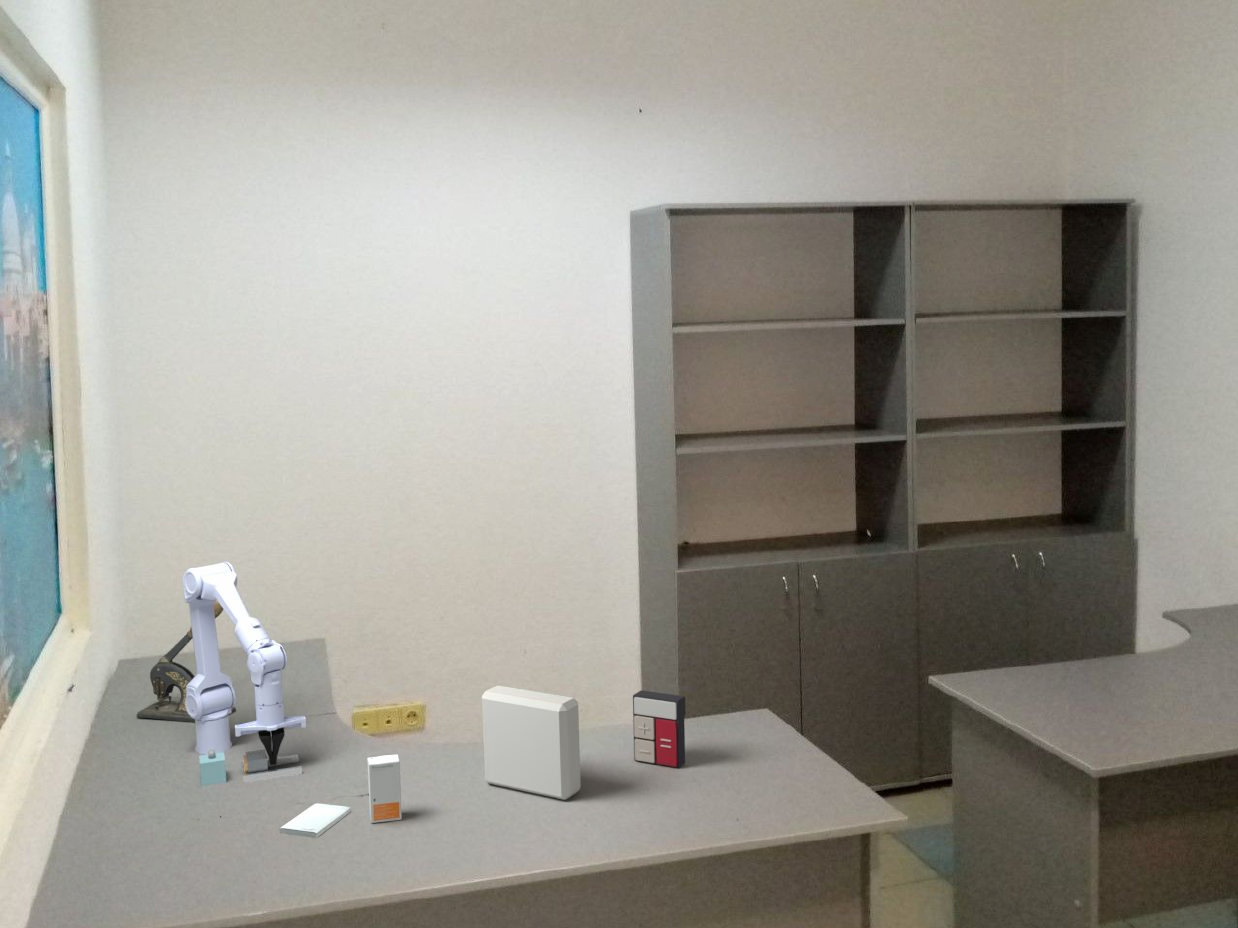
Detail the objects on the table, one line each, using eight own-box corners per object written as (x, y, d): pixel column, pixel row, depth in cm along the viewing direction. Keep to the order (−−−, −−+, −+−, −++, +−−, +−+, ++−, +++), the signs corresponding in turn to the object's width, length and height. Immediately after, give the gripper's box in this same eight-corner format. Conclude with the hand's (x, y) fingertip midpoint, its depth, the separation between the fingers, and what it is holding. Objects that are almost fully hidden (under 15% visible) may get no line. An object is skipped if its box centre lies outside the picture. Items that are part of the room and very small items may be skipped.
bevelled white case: (587, 789, 243) (584, 695, 240) (565, 803, 236) (562, 706, 234) (504, 772, 253) (500, 681, 251) (481, 785, 247) (477, 691, 244)
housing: (200, 778, 251) (198, 748, 251) (225, 774, 253) (223, 745, 252) (201, 786, 247) (199, 756, 246) (226, 782, 248) (224, 752, 248)
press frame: (192, 778, 254) (191, 766, 254) (297, 762, 262) (296, 751, 261) (193, 798, 243) (192, 786, 243) (303, 781, 251) (302, 769, 250)
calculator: (632, 762, 257) (630, 695, 256) (641, 755, 261) (639, 689, 259) (678, 769, 252) (676, 701, 251) (686, 763, 256) (685, 695, 254)
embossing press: (162, 705, 305) (154, 591, 302) (242, 711, 299) (235, 595, 295) (134, 719, 295) (125, 601, 291) (216, 725, 288) (208, 605, 285)
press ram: (243, 770, 255) (242, 752, 254) (266, 766, 256) (264, 749, 256) (245, 779, 249) (244, 761, 249) (268, 776, 251) (267, 758, 250)
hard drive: (316, 832, 223) (350, 806, 234) (278, 827, 225) (314, 801, 237) (316, 840, 223) (351, 814, 235) (279, 835, 225) (314, 809, 237)
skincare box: (371, 824, 228) (368, 764, 227) (369, 815, 232) (366, 756, 231) (402, 820, 230) (400, 760, 228) (400, 811, 234) (398, 753, 232)
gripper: (234, 711, 246) (238, 774, 248) (306, 702, 251) (309, 764, 253) (232, 702, 253) (236, 763, 254) (302, 693, 258) (306, 753, 259)
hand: (273, 763), depth 254 cm, fingers closed
